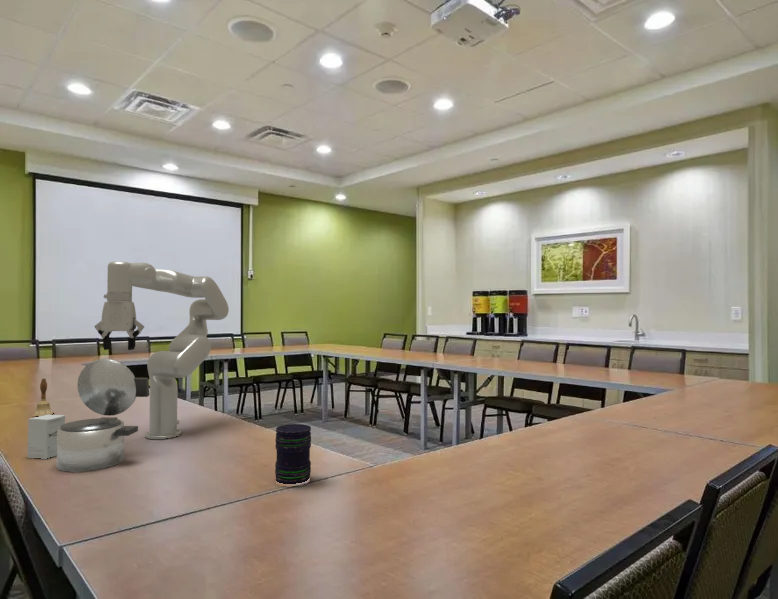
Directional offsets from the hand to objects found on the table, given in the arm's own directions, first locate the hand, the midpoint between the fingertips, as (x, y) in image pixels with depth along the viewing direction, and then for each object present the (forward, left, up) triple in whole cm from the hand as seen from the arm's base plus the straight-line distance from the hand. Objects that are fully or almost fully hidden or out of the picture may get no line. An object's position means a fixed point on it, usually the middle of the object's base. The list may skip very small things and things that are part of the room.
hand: (119, 349), depth 177 cm
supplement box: (+9, -18, -34) cm, 40 cm away
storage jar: (+31, +66, -34) cm, 80 cm away
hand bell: (-52, -60, -34) cm, 87 cm away
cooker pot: (+15, +2, -34) cm, 37 cm away
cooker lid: (+8, +2, -12) cm, 14 cm away
